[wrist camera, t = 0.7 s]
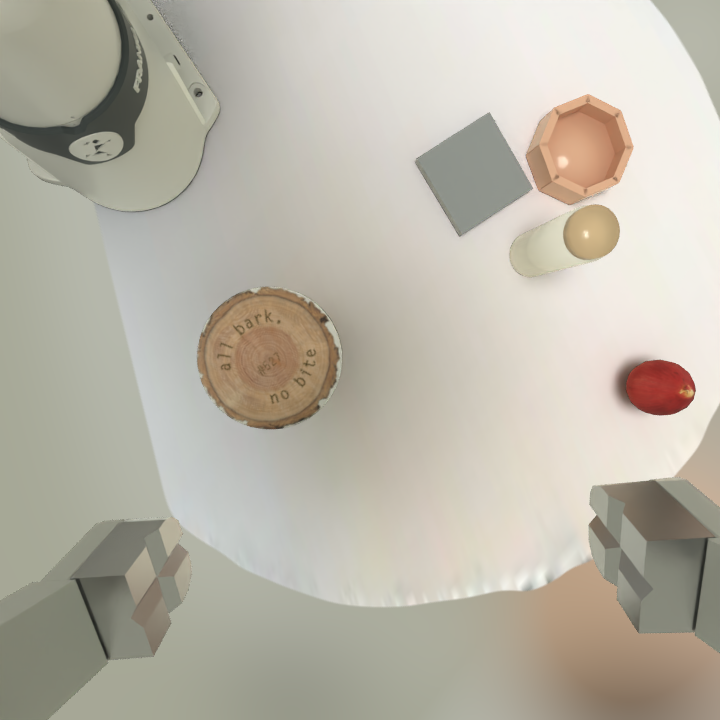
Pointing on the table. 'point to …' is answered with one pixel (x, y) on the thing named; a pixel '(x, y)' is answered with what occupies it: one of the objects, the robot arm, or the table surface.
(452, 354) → the table surface
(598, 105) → the terracotta dish
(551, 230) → the spice jar
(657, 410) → the onion
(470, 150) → the slate coaster
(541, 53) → the table surface
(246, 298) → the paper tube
